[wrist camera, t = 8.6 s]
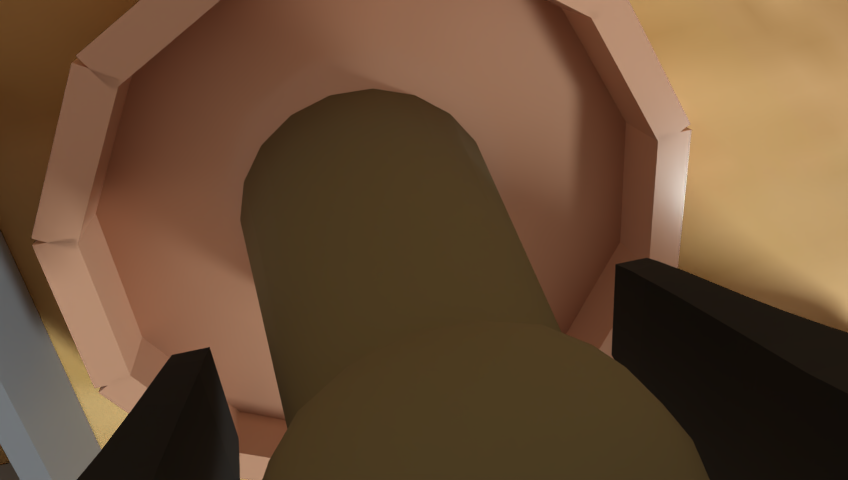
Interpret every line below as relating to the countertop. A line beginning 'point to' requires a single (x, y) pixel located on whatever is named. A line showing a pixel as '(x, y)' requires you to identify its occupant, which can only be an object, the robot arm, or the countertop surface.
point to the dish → (301, 87)
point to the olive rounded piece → (425, 316)
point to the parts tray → (36, 392)
